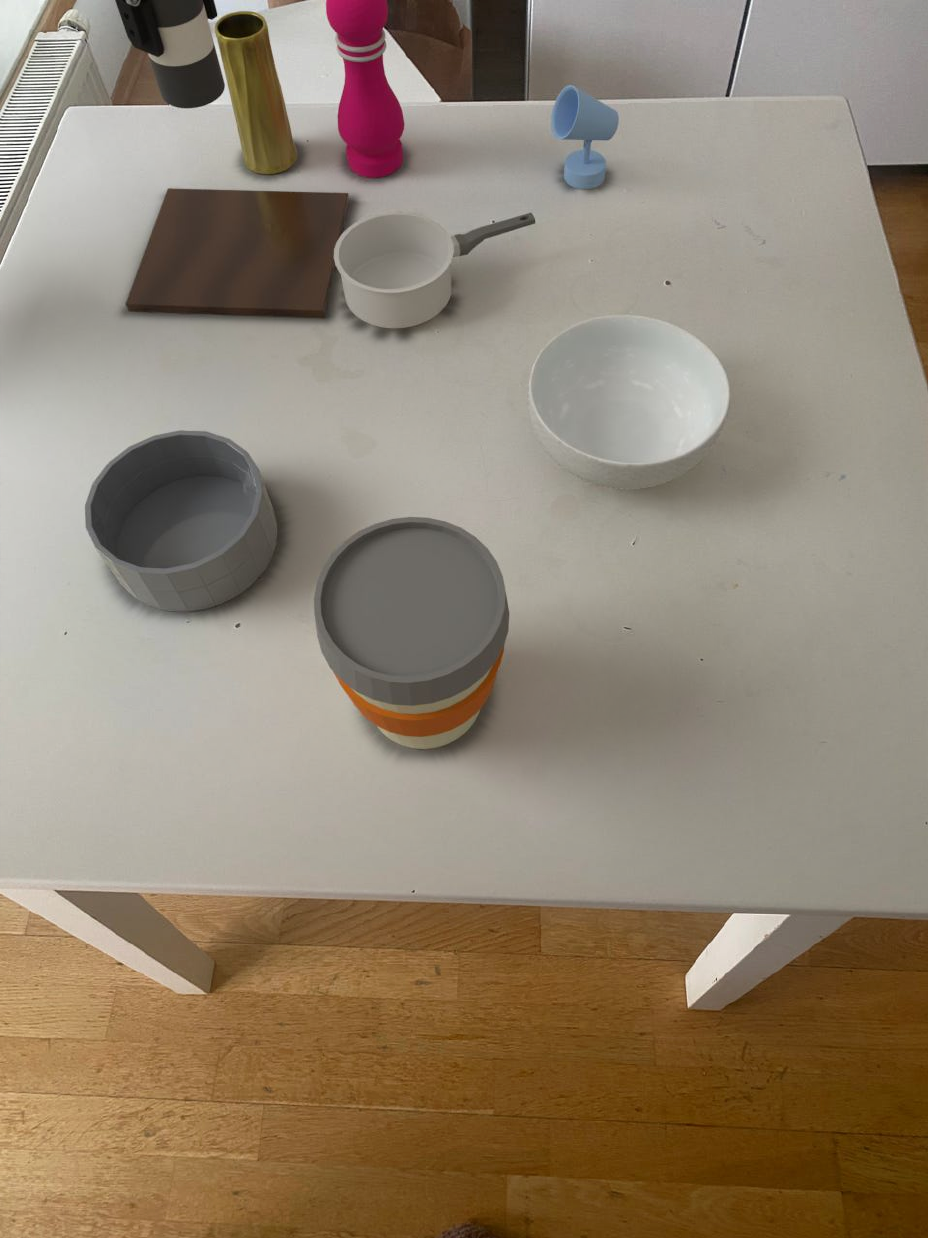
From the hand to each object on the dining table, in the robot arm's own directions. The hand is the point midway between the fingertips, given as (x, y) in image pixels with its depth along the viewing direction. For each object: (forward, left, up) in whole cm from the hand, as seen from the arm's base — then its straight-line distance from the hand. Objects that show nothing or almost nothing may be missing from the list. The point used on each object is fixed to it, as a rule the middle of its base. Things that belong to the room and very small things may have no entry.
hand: (175, 29), depth 73 cm
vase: (0, +17, -23) cm, 29 cm away
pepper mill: (+12, +17, -23) cm, 31 cm away
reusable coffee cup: (+24, -48, -23) cm, 58 cm away
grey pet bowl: (+3, -35, -23) cm, 42 cm away
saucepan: (+21, -3, -23) cm, 31 cm away
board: (0, +1, -23) cm, 23 cm away
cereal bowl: (+39, -22, -23) cm, 50 cm away
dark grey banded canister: (0, 0, -5) cm, 5 cm away
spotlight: (+35, +15, -23) cm, 44 cm away
